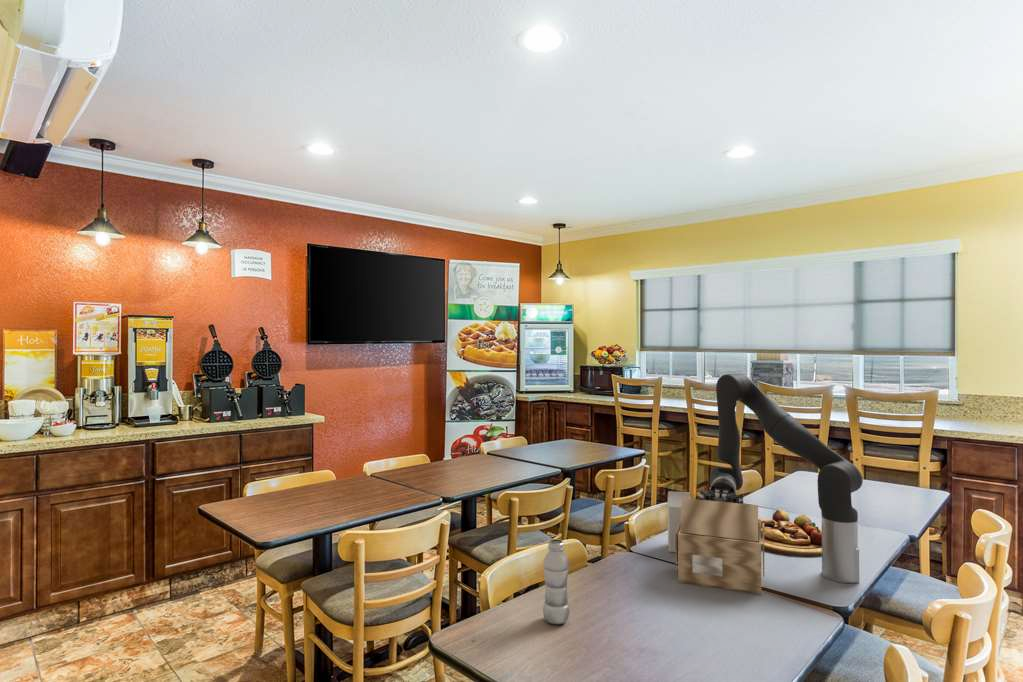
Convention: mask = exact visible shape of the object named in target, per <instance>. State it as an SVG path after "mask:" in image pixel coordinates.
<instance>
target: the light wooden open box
mask: <svg viewBox="0 0 1023 682" xmlns="http://www.w3.org/2000/svg"><path fill="white" fill-rule="evenodd" d="M680 524H681V521H680ZM680 524H679V526H678V528H677V531H676V533H675V552H674V553H675V555H674V556H675V565H677V573H678V574H677V581H678V583H680V584H688V585H695V586H700V587H707V588H708V587H709V588H714V589H720V590H721V589H722V590H728V591H734V592H741V593H747V594H752V595H753V594H754V595H760V596H761V595H762V577H765V550H764V523H763V550H762V549H761V522H759V521H758V541H750V540H741V539H733V538H724V537H716V536H707V535H699V534H690V533H682V532H680Z"/></svg>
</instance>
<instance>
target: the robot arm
mask: <svg viewBox="0 0 1023 682" xmlns="http://www.w3.org/2000/svg"><path fill="white" fill-rule="evenodd" d="M715 390H716V392H715V394H716V404H717V406H716V407H717V416H718V417H717V418H718V438H717V439H718V442H717V454H716V455H717V459H718V460H719V461H720V462H723V463H725V464H728V465H730V466H731V468H728V467H722V466H721V467H720V466H715V467H713V468H712V469H711V470H710V474H709V480H710V484H711V485H710V488H709V490H708V491H704V490H700V491H699V500H708V501H719V502H729V503H740V504H744V494H737V491H739V490H740V489H742V487H743V484H744V478H743V477H744V476H743V473H742V469H741V464H740V452H741V451H740V449H741V448H740V447H741V433H740V431H739V426H738V422H737V419H736V406H737V402H741V404H744V405H745V406H746V407H747V408H748V409H750V410H751V412H753V413H754V414H755V416H756V417H757V419H758V421H759V423H760V425H761V428H762V429H763V430H764V432H765V433H766V434H767V435H768V436H769V437H770V438H771V439H772V440H773V441H774V442H775V443H777V444H778V445H779V446H781V447H782V448H783V449H785V450H787V451H788V452H790V453H792V454H794V455H796V456H799V457H801V459H804V460H806V461H808V462H809V463H811V464H812V465H814V466H815V467H816V468H817V469H818V470H819V471H818V475H817V499H818V500H817V501H818V507H819V509H820V511H821V530H822V556H821V575H822V577H824V578H825V579H828V580H831V581H833V582H838V583H845V584H850V583H851V584H852V583H859V584H860V549H859V545H858V543H859V535H858V534H859V529H858V528H859V524H858V523H859V521H858V519H859V517H858V516H859V514H858V510H857V509H856V508H854V507H853V504H852V493H854V492H856V491H858V490H859V489H861V487H862V486H863V481H864V480H863V476H862V473H861V472H860V470H859V468H858V467H856V465H854V464H853V463H852V462H850V461H849V460H847V458H844V457H843V456H841V455H840V454H839V453H837V452H836V451H834V450H833V449H831V448H830V447H829V446H828V445H827V444H825V443H824V442H823V441H821V440H820V439H819V438H818V437H817V436H816V435H814V434H813V433H812V432H811V431H810V430H809V429H807V427H805V426H804V425H803V424H802V423H801V422H800V421H798V420H797V419H796V418H795V417H793V416H792V415H791V414H790V413H789V412H787V411H786V410H785V409H784V408H782V407H781V406H780V405H779V404H777V403H776V402H775V401H773V400H772V399H771V398H769V397H768V395H766V393H764V392H763V390H761V388H760V387H758V385H756V383H754V381H753V380H752V379H751V378H750V377H749V376H747V375H745V374H742V373H727V374H723V375H722V376H721V375H720V377H718V379H717V381H716V386H715Z"/></svg>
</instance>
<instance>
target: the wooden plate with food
mask: <svg viewBox="0 0 1023 682" xmlns="http://www.w3.org/2000/svg"><path fill="white" fill-rule="evenodd" d="M758 521H759V522H761V551H763V523H764V551H766V552H769V553H774V554H779V555H785V556H790V557H791V556H792V557H798V558H799V557H800V558H801V557H802V558H803V557H804V558H814V557H815V558H816V557H818V558H819V557H822V528H819V526H816V523H815V522H813V521H812V520H811V518H809V517H808V516H806V514H801V515H798V516H796V517H795V518H794V519H793V521H790V517H789V515H788V513H787V512H786V511H784V510H782V508H780V509H779V508H778V509H777V510H775V512H773V514H772V519H765V518H764V519H763V518H758Z"/></svg>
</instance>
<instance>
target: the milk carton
mask: <svg viewBox="0 0 1023 682" xmlns="http://www.w3.org/2000/svg"><path fill="white" fill-rule="evenodd" d="M682 498H687V499H692V497H691V492H688V491H687V492H686V491H684V492H683V491H668V492H667V546H668V552H670V553H675V533H676V531H677V528H678V526H679V524H680V521H681V507H682Z"/></svg>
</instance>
